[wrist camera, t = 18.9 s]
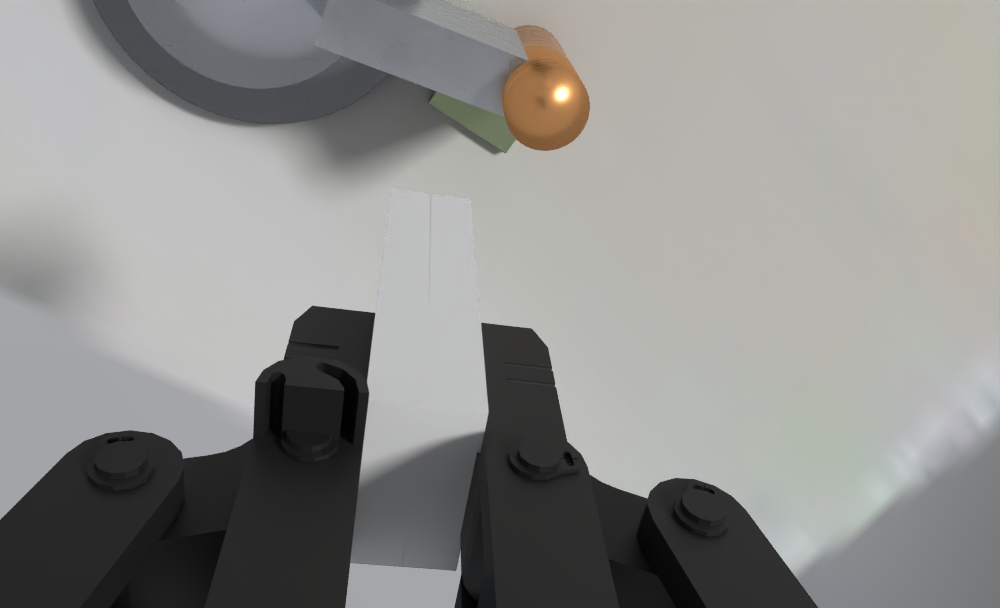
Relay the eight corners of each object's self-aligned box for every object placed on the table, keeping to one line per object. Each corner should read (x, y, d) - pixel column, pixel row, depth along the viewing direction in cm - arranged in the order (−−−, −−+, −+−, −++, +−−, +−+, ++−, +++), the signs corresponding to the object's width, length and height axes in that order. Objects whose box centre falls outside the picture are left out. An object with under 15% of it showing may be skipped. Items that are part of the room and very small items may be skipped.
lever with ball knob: (107, 26, 25) (35, 68, 21) (154, -235, 22) (82, -251, 18) (517, 174, 28) (533, 239, 24) (607, -37, 25) (645, -9, 21)
